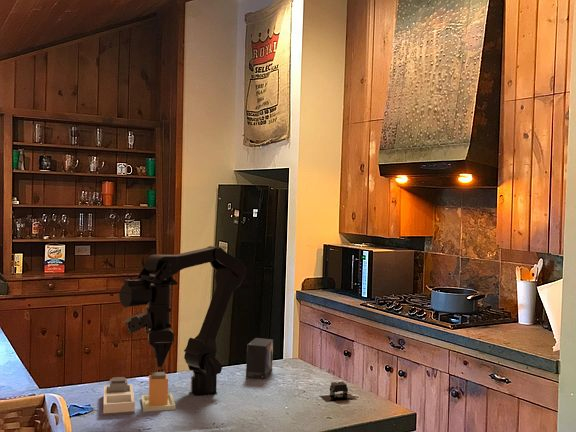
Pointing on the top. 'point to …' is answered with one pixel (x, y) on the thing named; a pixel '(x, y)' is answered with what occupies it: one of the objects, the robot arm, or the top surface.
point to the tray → (146, 406)
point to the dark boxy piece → (338, 397)
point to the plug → (158, 389)
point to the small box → (259, 358)
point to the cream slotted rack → (118, 397)
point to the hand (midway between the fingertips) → (158, 362)
